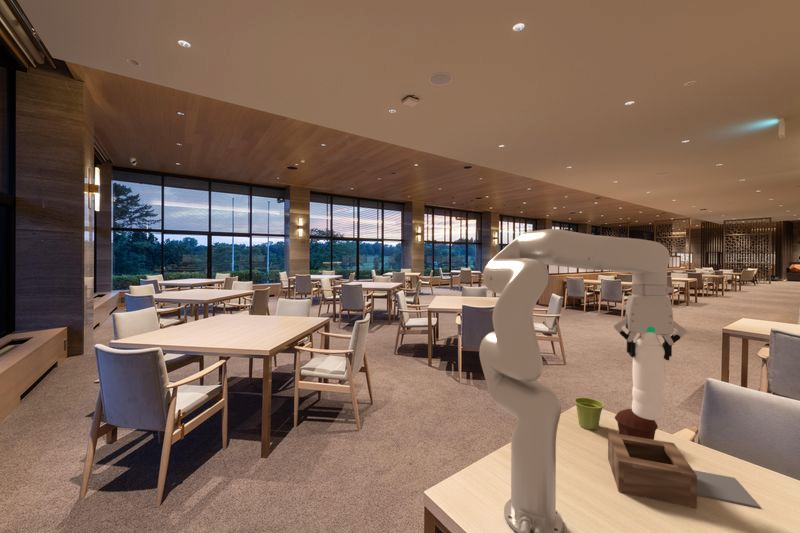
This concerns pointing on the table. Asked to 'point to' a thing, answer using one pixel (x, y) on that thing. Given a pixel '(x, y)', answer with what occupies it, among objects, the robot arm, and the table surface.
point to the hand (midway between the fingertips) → (648, 356)
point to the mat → (723, 489)
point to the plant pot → (588, 412)
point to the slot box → (652, 470)
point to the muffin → (635, 425)
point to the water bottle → (648, 376)
